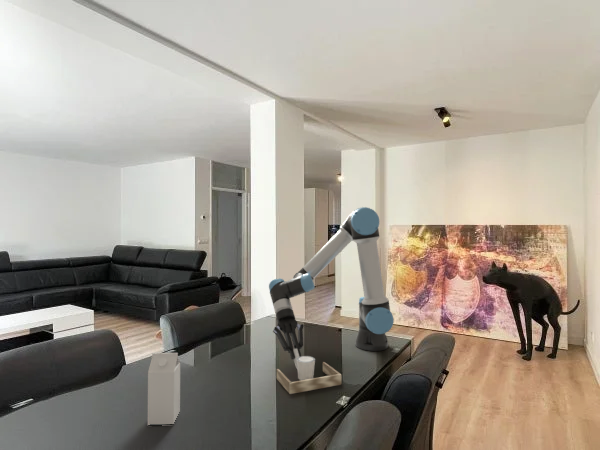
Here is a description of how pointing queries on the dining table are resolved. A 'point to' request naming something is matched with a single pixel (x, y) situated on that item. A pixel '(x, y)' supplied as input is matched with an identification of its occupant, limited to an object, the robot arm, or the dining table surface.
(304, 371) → the white cup
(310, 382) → the bay
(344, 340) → the dining table surface
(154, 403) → the milk carton
